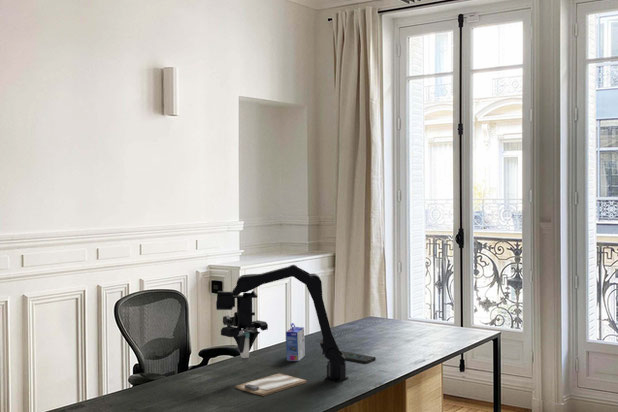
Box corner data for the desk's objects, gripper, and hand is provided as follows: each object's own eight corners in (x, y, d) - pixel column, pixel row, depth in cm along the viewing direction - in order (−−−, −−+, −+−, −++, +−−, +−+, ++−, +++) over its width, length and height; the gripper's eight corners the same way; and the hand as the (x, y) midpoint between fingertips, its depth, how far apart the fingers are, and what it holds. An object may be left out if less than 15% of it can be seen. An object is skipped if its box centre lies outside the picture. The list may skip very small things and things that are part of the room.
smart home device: (365, 360, 278) (325, 353, 290) (365, 365, 278) (325, 357, 290) (376, 356, 285) (336, 349, 297) (376, 361, 285) (336, 353, 297)
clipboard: (306, 382, 252) (306, 377, 252) (263, 396, 235) (263, 390, 235) (279, 375, 261) (279, 370, 261) (235, 388, 245) (235, 383, 245)
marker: (251, 359, 255) (251, 332, 254) (244, 361, 252) (244, 334, 252) (245, 358, 257) (245, 331, 257) (238, 360, 254) (238, 333, 254)
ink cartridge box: (292, 355, 292) (292, 321, 292) (305, 356, 291) (305, 321, 290) (285, 360, 283) (285, 325, 282) (298, 361, 281) (298, 326, 281)
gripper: (248, 303, 266) (248, 344, 267) (210, 310, 252) (211, 352, 253) (268, 307, 259) (268, 348, 259) (231, 314, 245) (231, 358, 245)
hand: (244, 351), depth 254 cm, fingers closed on marker, 3 cm apart
